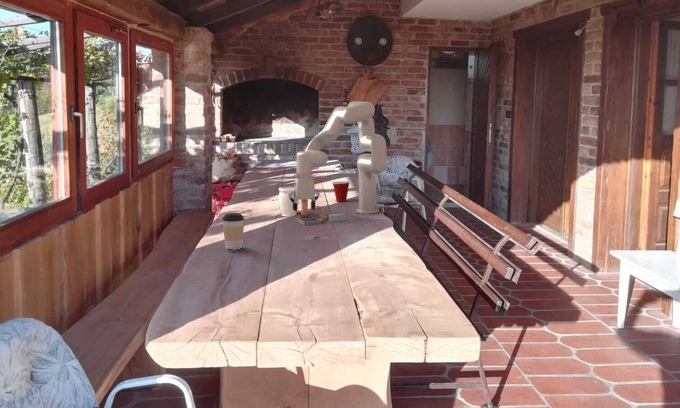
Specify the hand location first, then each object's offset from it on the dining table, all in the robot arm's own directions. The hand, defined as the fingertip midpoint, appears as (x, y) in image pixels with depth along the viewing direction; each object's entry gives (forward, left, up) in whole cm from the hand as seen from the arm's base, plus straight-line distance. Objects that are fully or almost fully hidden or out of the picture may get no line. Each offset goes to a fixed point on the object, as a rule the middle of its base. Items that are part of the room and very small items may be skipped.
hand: (304, 210), depth 341 cm
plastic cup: (-43, -44, -6) cm, 62 cm away
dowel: (0, 0, -5) cm, 5 cm away
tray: (+1, +9, -6) cm, 11 cm away
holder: (0, 0, -6) cm, 6 cm away
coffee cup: (+50, +38, -6) cm, 63 cm away
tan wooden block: (-12, +4, -6) cm, 14 cm away
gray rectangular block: (-13, +10, -6) cm, 18 cm away
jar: (+2, -16, -6) cm, 17 cm away
